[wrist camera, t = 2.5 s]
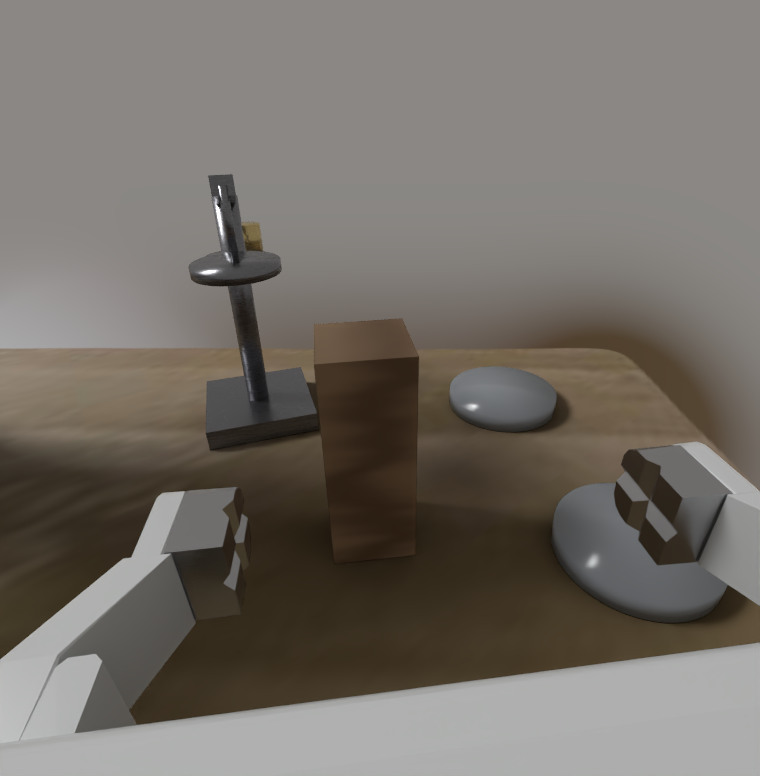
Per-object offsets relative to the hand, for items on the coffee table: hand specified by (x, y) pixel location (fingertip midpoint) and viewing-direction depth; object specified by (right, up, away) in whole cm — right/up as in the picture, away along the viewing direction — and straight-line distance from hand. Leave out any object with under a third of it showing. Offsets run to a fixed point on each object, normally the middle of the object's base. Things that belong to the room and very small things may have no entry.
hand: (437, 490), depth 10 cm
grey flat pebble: (+9, +1, +29) cm, 31 cm away
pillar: (-2, -6, +18) cm, 19 cm away
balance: (-11, 0, +29) cm, 31 cm away
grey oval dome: (+12, -7, +16) cm, 21 cm away
